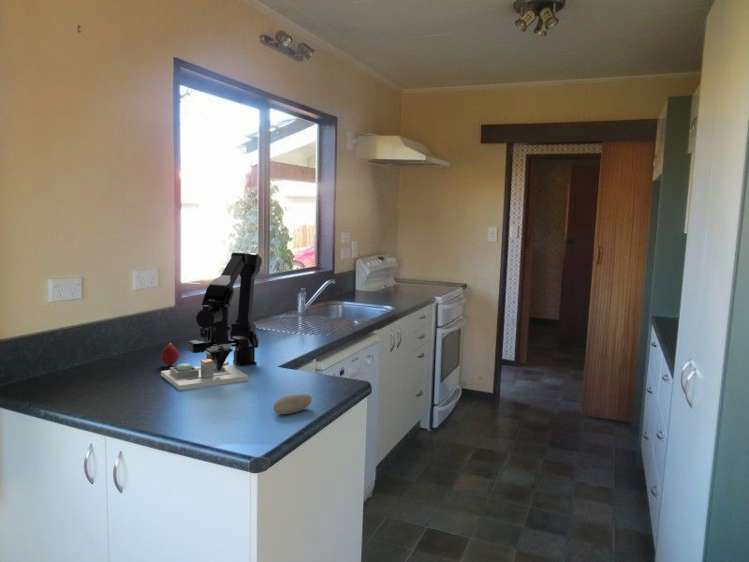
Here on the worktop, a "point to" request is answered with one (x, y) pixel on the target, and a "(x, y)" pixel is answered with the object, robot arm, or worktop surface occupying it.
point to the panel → (196, 380)
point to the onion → (169, 355)
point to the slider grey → (209, 356)
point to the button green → (184, 367)
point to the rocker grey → (223, 364)
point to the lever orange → (207, 368)
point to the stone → (292, 403)
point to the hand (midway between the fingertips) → (218, 370)
